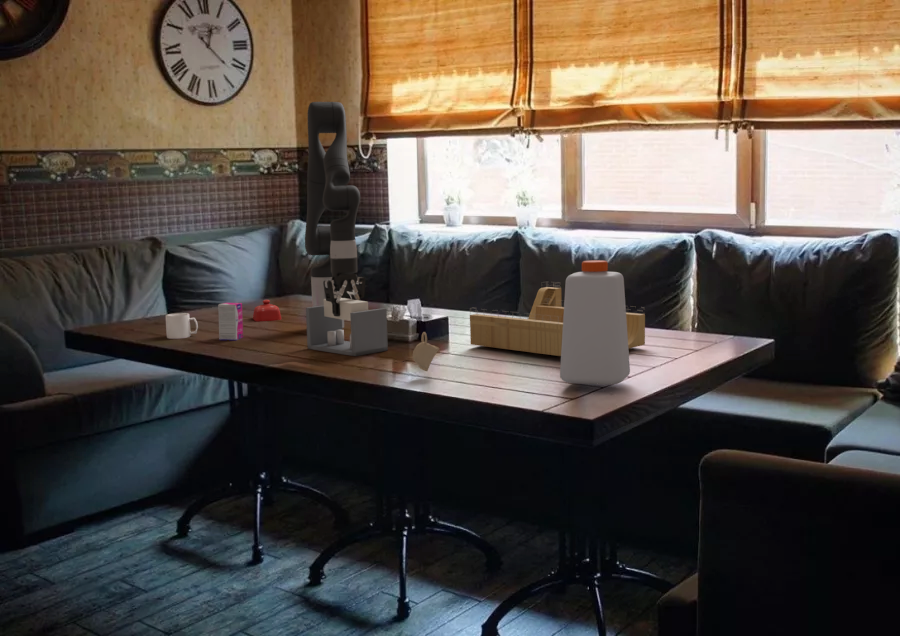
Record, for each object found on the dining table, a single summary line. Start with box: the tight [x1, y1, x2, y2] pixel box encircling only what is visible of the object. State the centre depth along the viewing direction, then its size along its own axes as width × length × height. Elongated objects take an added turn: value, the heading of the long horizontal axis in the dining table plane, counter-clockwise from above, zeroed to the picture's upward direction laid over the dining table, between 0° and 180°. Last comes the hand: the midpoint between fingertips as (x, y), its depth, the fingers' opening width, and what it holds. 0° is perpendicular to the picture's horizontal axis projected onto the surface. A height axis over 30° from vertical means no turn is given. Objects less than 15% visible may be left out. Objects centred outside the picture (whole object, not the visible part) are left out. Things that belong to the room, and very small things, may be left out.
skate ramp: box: [469, 281, 646, 357], centre depth 289 cm, size 40×35×16 cm
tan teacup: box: [412, 331, 440, 372], centre depth 254 cm, size 4×8×5 cm
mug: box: [165, 312, 199, 340], centre depth 321 cm, size 10×7×8 cm
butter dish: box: [252, 299, 282, 322], centre depth 351 cm, size 12×12×8 cm
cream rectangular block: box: [324, 297, 369, 322], centre depth 290 cm, size 16×6×5 cm, turn 35°
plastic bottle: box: [559, 259, 631, 386], centre depth 238 cm, size 15×15×28 cm
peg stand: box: [305, 305, 389, 357], centre depth 290 cm, size 22×12×12 cm, turn 45°
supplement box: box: [217, 302, 244, 342], centre depth 314 cm, size 6×6×12 cm
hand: (345, 314), depth 290 cm, fingers closed on cream rectangular block, 6 cm apart
